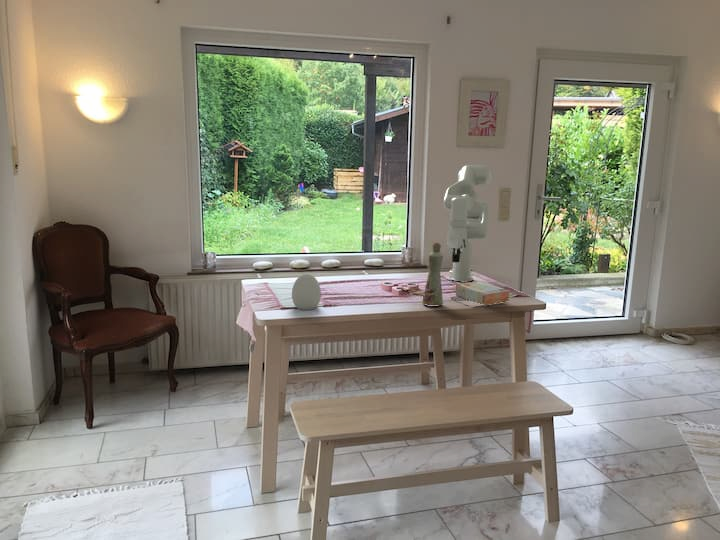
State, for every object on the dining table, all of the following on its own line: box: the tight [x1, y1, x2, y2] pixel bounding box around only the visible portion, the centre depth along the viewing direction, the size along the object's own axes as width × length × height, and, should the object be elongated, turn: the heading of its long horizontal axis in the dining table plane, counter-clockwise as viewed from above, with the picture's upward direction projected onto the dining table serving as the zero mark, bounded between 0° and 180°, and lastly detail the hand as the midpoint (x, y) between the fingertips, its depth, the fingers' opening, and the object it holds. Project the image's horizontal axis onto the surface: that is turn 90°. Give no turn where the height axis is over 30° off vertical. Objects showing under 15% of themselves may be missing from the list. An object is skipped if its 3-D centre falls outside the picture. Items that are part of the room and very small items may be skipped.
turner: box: [410, 288, 425, 297], centre depth 283 cm, size 16×5×1 cm, turn 48°
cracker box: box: [455, 280, 510, 305], centre depth 272 cm, size 14×6×21 cm
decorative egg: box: [291, 272, 322, 311], centre depth 252 cm, size 12×12×15 cm
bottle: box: [421, 242, 444, 306], centre depth 260 cm, size 9×9×28 cm
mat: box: [450, 296, 469, 301], centre depth 272 cm, size 16×18×1 cm
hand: (455, 261), depth 284 cm, fingers closed
